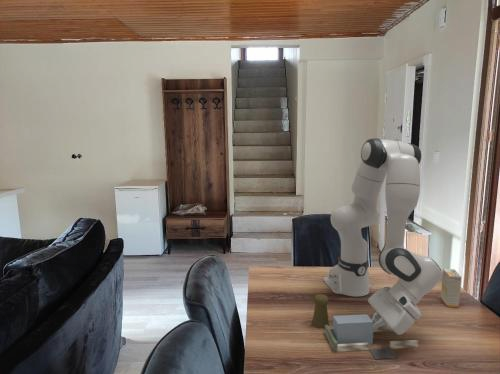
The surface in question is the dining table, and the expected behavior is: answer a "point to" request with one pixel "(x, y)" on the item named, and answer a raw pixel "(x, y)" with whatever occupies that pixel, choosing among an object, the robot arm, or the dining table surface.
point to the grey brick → (353, 329)
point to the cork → (320, 311)
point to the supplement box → (451, 287)
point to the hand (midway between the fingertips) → (371, 326)
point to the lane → (377, 353)
